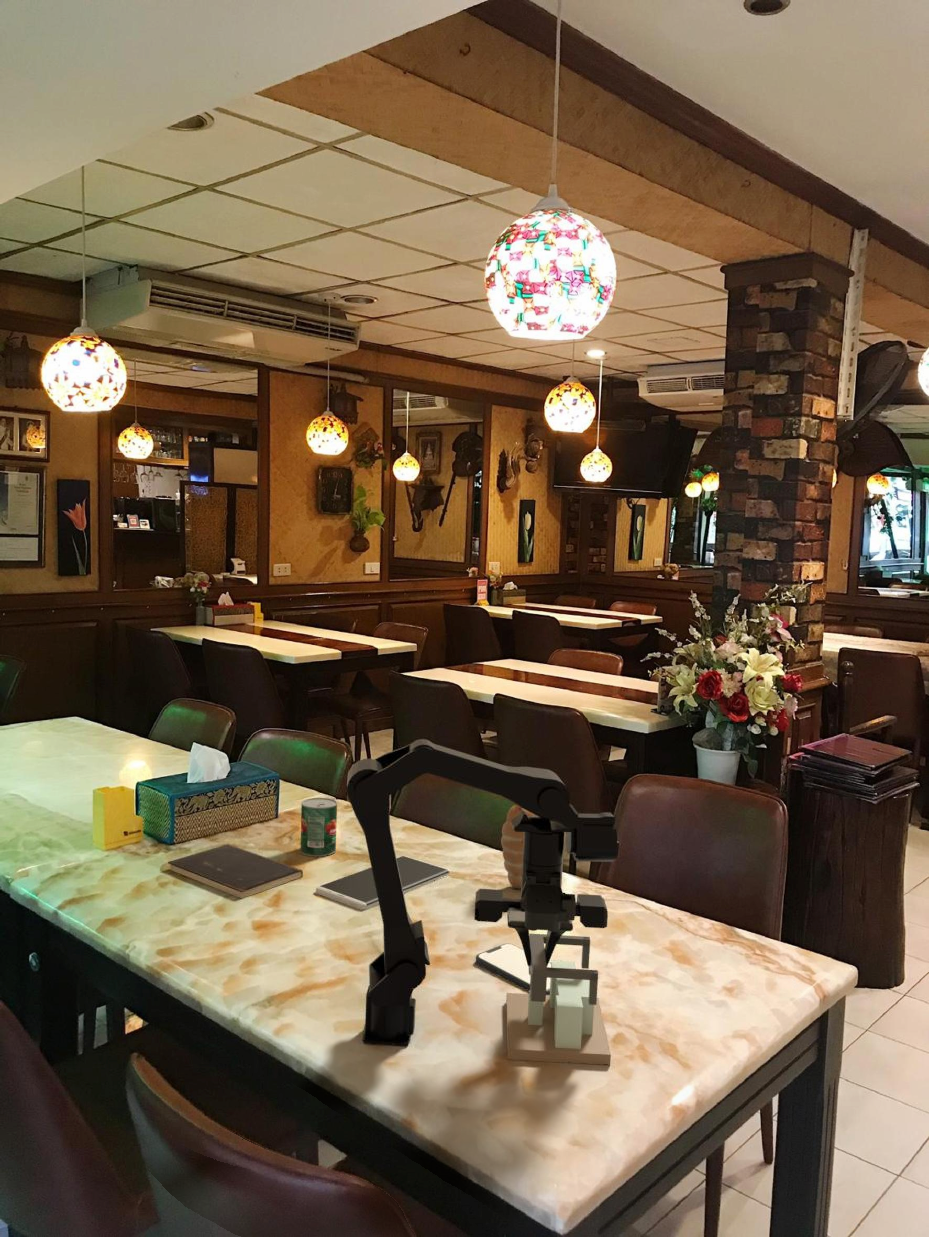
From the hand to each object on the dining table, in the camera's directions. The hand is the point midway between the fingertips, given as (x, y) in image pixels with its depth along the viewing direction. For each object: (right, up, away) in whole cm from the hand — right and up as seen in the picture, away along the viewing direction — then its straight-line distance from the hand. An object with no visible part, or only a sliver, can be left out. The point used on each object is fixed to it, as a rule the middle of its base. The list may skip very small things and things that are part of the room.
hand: (537, 965), depth 137 cm
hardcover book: (-58, -3, +58) cm, 82 cm away
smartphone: (-27, -5, +57) cm, 63 cm away
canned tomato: (-43, -2, +74) cm, 85 cm away
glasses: (+3, -2, 0) cm, 4 cm away
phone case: (-1, -9, +20) cm, 21 cm away
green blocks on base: (+3, -10, +1) cm, 10 cm away
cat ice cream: (0, -5, +57) cm, 57 cm away
